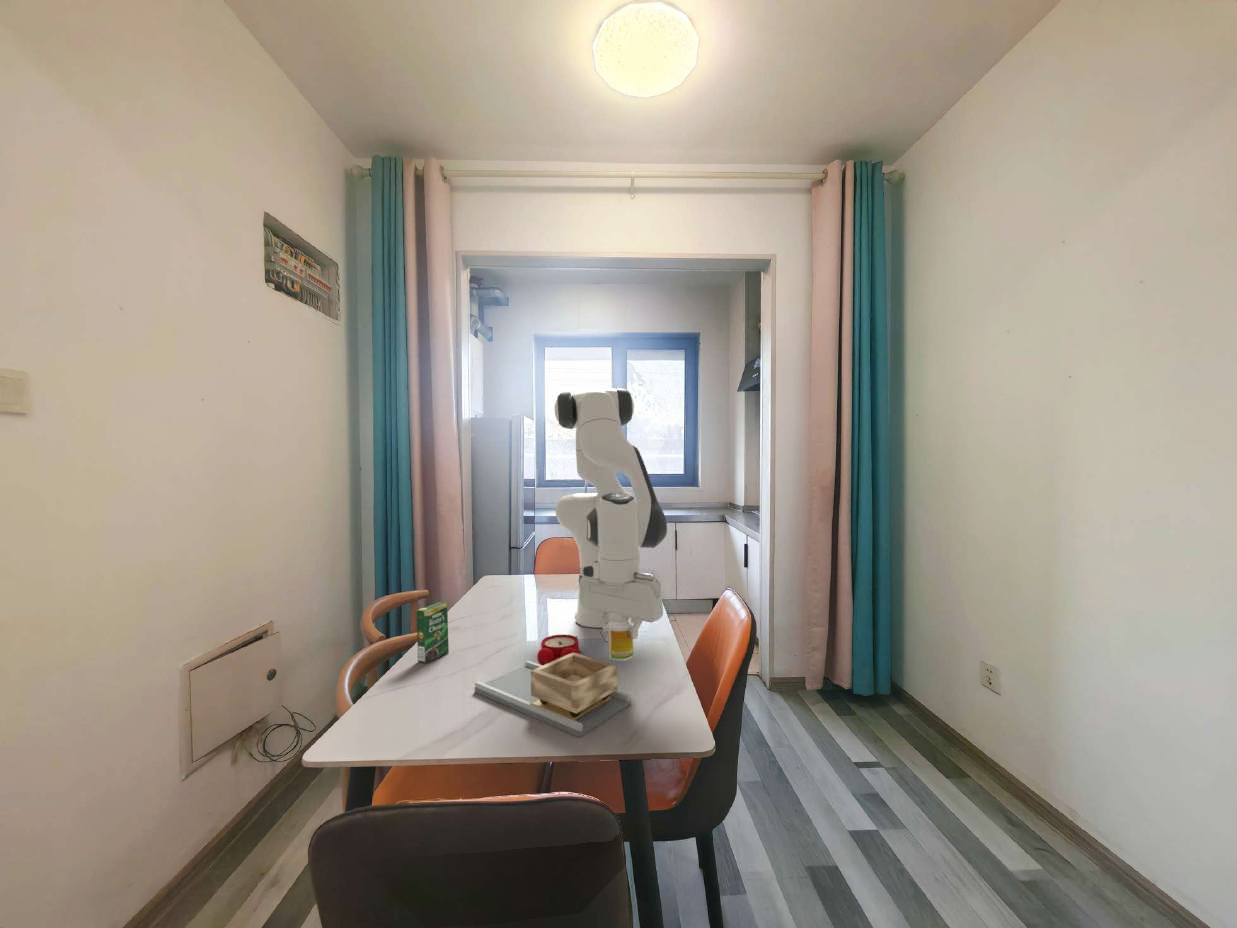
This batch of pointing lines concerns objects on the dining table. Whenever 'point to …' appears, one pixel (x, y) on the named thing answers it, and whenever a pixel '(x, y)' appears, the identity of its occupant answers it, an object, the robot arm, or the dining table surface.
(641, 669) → the dining table surface
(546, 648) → the alarm clock
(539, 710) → the track board
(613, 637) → the supplement bottle
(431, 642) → the coffee box
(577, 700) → the open wooden crate
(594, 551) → the robot arm
